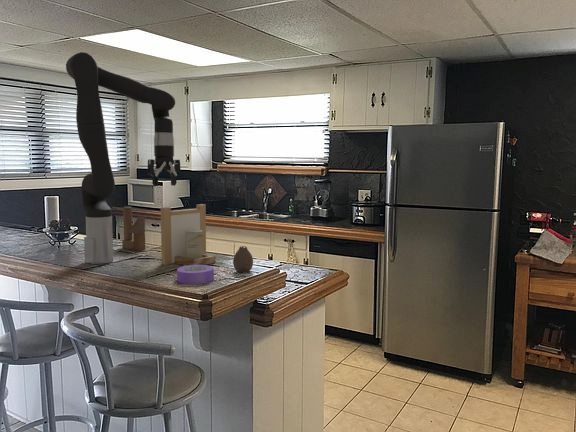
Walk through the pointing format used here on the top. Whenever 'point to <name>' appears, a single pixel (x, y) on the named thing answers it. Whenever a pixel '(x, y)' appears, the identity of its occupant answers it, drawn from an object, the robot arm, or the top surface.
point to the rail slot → (195, 260)
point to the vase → (243, 260)
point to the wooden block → (133, 231)
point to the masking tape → (195, 274)
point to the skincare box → (194, 244)
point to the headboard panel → (180, 230)
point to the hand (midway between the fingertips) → (164, 185)
